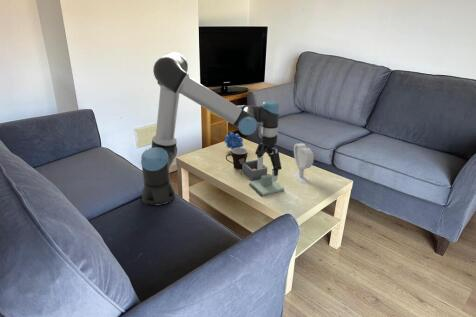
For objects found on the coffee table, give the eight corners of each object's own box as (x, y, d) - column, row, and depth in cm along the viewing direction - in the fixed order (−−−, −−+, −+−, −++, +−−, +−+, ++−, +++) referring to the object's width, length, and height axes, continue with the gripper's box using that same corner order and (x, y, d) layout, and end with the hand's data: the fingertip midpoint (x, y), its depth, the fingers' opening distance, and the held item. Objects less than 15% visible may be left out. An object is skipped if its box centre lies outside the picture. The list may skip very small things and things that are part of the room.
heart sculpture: (290, 171, 188) (293, 141, 180) (298, 170, 189) (301, 140, 182) (302, 185, 175) (306, 153, 167) (311, 184, 176) (315, 152, 168)
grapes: (224, 153, 209) (224, 135, 203) (224, 148, 215) (224, 131, 209) (243, 153, 209) (243, 135, 204) (242, 149, 215) (243, 131, 210)
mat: (261, 196, 164) (261, 195, 164) (249, 185, 174) (249, 184, 174) (283, 190, 170) (283, 189, 170) (270, 179, 179) (271, 178, 179)
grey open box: (251, 181, 177) (252, 171, 175) (242, 172, 186) (242, 162, 184) (266, 178, 181) (267, 167, 178) (256, 169, 190) (256, 159, 187)
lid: (263, 195, 164) (263, 184, 161) (249, 183, 174) (249, 173, 172) (283, 189, 169) (284, 179, 167) (269, 178, 179) (270, 168, 177)
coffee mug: (247, 164, 196) (248, 148, 191) (246, 171, 188) (246, 154, 184) (227, 162, 197) (227, 146, 192) (225, 169, 189) (225, 153, 185)
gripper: (291, 142, 151) (287, 184, 160) (262, 125, 171) (260, 163, 180) (277, 145, 148) (274, 187, 157) (249, 127, 168) (248, 165, 177)
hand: (266, 174), depth 169 cm, fingers open, 13 cm apart
